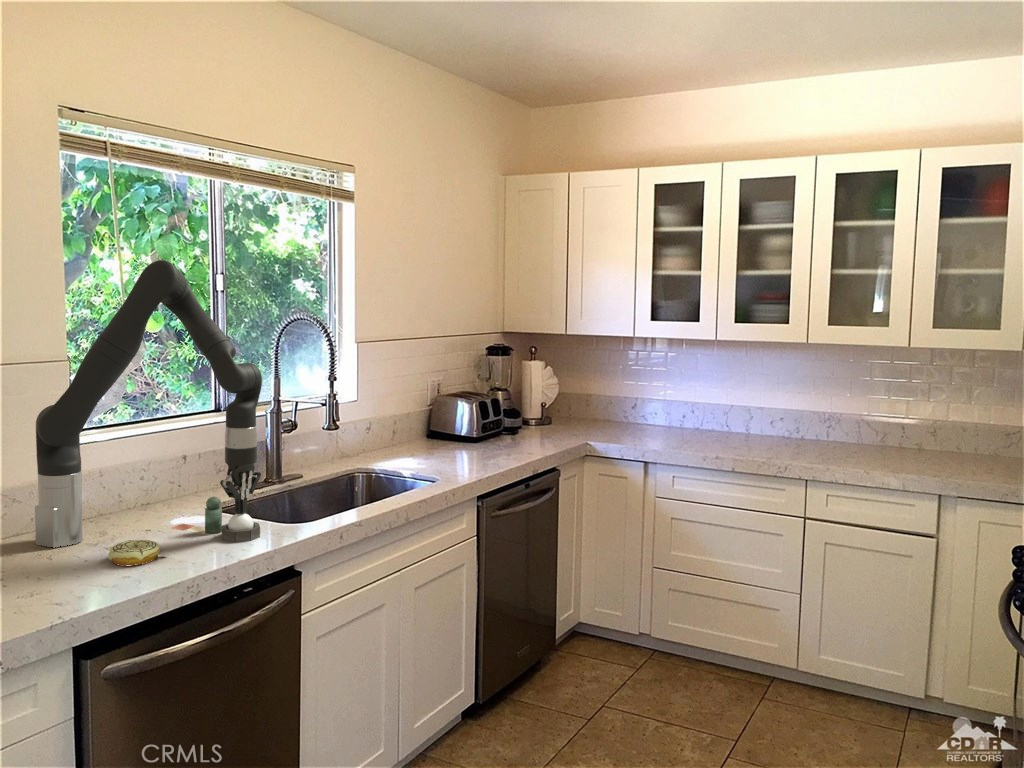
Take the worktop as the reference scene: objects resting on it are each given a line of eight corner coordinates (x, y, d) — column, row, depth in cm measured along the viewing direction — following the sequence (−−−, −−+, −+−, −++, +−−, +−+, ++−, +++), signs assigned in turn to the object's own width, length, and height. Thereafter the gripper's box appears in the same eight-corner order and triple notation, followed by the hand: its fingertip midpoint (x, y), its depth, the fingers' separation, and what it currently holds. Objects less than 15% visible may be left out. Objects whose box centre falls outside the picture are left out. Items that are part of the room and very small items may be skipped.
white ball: (242, 541, 203) (242, 517, 202) (222, 538, 205) (222, 514, 204) (258, 535, 208) (258, 511, 208) (239, 532, 210) (239, 508, 210)
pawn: (213, 534, 207) (214, 499, 206) (201, 532, 208) (201, 497, 208) (225, 531, 211) (225, 496, 210) (212, 528, 212) (213, 494, 211)
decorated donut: (100, 567, 185) (99, 550, 185) (122, 552, 196) (122, 536, 195) (146, 568, 185) (146, 552, 185) (166, 553, 196) (166, 538, 195)
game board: (242, 549, 200) (242, 534, 200) (161, 535, 209) (161, 520, 209) (268, 538, 210) (268, 523, 209) (189, 525, 219) (189, 511, 218)
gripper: (235, 450, 197) (235, 521, 199) (270, 441, 209) (270, 508, 211) (210, 447, 199) (210, 517, 201) (246, 438, 212) (246, 505, 214)
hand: (241, 513), depth 206 cm, fingers closed
